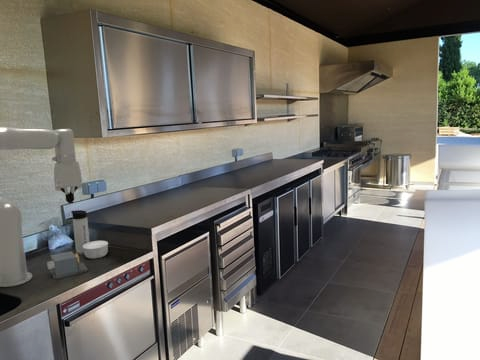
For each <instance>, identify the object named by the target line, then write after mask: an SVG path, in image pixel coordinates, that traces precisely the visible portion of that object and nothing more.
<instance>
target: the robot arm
mask: <svg viewBox="0 0 480 360" xmlns="http://www.w3.org/2000/svg"><path fill="white" fill-rule="evenodd" d="M73 131H74V130H72V129H71V128H58V129H45V128H44V129H43V128H42V129H37V128H36V129H35V128H34V129H33V128H32V129H31V128H28V129H27V128H17V127H11V126H10V127H9V126H0V151H1V150H4V151H5V150H6V151H10V150H12V151H13V150H52V149H54V152H55V153H54V154H55V155H54V157H52V158H51V161H52V162H55V163H54V167H53V168H54V169H53V174H54V175H53V176H54V177H53V178H54V180H53V181H54V190H55V191H58V192H62V193H64V196H65V202H67V204H70V205H71V204H74V201H75V192H76V191H77V190H79V189H81V188H83V187H84V186H83V177H82V173H81V172H82V170H81V167H80V163H79V161H77V159H76V149H75V147H76V146H75V139H74V137H75V136H74V132H73ZM68 188H70V189H68ZM22 223H23V219H22V211H21V210H20V208H19V207H18V205H17V204H16V203H14V202H12V201H10V200H9V199H7V198H5V197H3V196H1V195H0V288H9V287H10V288H11V287H15V286H19V285H22V284H25V283H27V282H29V281H30V280H31V279H32V278H33V274H32V273H31V272H29V271H28V267H27V261H26V260H27V259H26V252H25V245H24V243H25V242H24V237H23V236H24V235H23V227H22V225H23V224H22Z"/></svg>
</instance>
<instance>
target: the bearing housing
mask: <svg viewBox="0 0 480 360" xmlns="http://www.w3.org/2000/svg"><path fill="white" fill-rule="evenodd" d="M74 254H75V253H74V252H73V251H72V250H71V251H67V252H66V251H65V252H60V253H56V254H51V255H50V259H51V260H50V261H54V267H55V268H53V269H49V272H50V273H49V274H50V275H51V277H52V279H53V280H57V279H62V278H66V277H70V276H71V277H72V276H74V275H79V273H80V274H83V272H84V273H88V272H89V269H88V267H87V266H86V265H85V264H84V262H80V265H78V266H77V258H76V256H75V255H74ZM87 271H88V272H87Z"/></svg>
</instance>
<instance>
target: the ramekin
mask: <svg viewBox="0 0 480 360" xmlns="http://www.w3.org/2000/svg"><path fill="white" fill-rule="evenodd" d="M82 248H83V250H84V254H83V255H84V256H85V257H86V258H88V259H91V260H92V259H101V258H103V257H105V256H106V255H107V254H108V251H109V250H108V249H109V242H108V241H106V240H94V241H90V242H88V243H86V244H84V245H83V246H82Z"/></svg>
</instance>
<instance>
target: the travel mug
mask: <svg viewBox="0 0 480 360" xmlns="http://www.w3.org/2000/svg"><path fill="white" fill-rule="evenodd" d="M87 213H88V212H87V211H86V210H77V209H76V210H71V214H72V215H71V216H72V226H73V234H74V244H75V245H74V246H75V254H76V253H78V255H85V254H84V250H83V248H82V246H83V245H84V244H86V243H88V242H91V241H90V231H89V222H88V220H89V219H88V214H87Z"/></svg>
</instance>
